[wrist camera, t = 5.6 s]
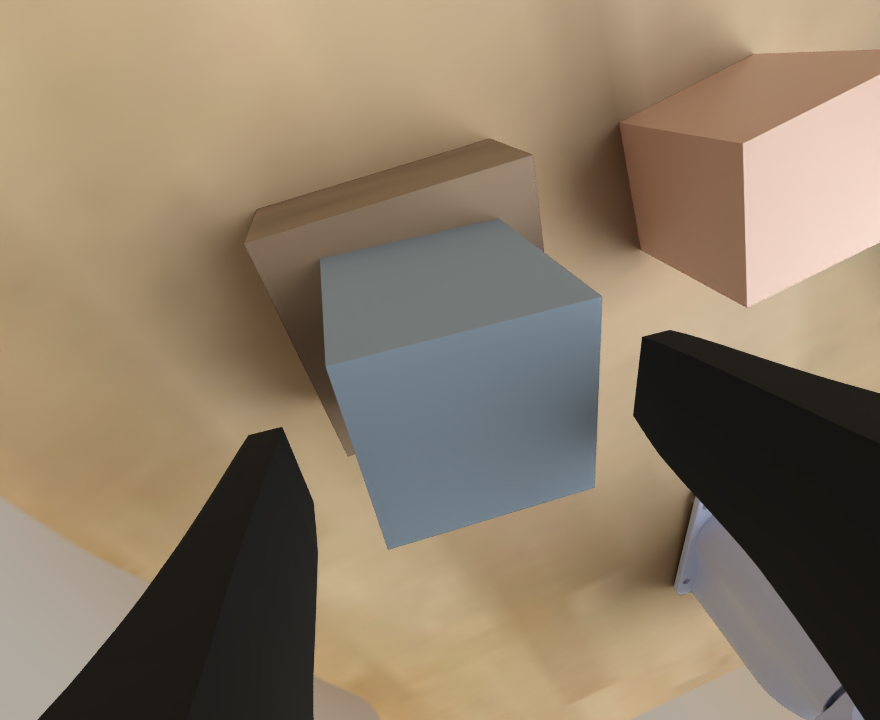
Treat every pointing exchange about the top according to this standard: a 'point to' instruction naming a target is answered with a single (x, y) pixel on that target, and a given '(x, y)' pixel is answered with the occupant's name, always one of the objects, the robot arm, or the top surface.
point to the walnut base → (381, 232)
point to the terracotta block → (760, 171)
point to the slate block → (462, 376)
